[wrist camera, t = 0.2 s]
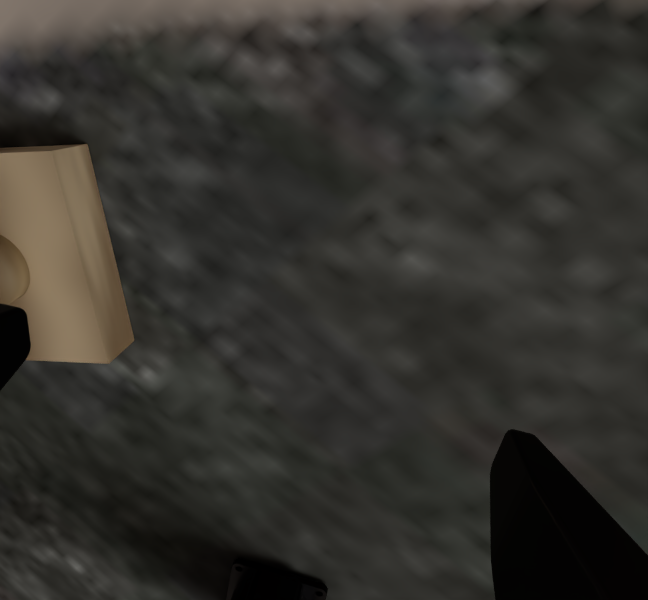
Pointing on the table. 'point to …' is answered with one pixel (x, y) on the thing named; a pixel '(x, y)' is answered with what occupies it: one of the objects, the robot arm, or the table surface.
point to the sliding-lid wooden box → (60, 255)
